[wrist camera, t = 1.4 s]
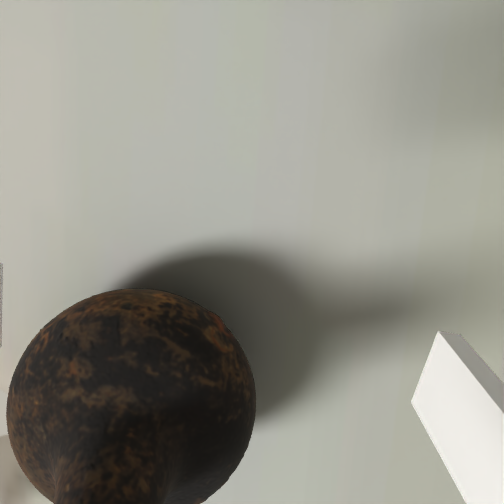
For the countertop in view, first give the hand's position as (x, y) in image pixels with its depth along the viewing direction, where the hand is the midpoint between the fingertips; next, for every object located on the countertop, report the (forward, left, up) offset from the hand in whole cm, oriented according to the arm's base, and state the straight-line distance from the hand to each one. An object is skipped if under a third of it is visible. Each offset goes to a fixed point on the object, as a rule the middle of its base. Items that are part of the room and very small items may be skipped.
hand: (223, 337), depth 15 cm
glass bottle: (+17, -2, -24) cm, 29 cm away
